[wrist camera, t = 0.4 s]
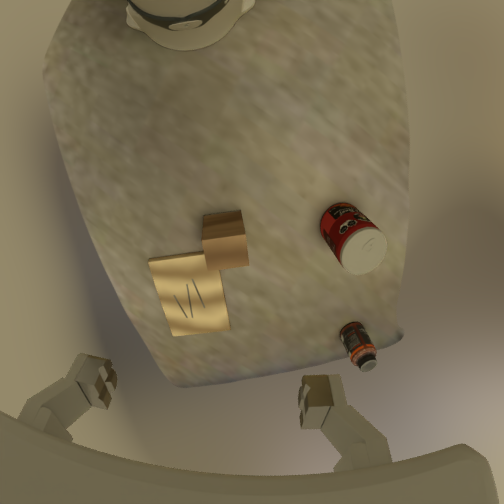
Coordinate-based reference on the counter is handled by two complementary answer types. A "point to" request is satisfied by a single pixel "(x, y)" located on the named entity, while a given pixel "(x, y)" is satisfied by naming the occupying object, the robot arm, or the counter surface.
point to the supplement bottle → (359, 346)
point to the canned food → (353, 239)
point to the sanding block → (224, 241)
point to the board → (190, 294)
